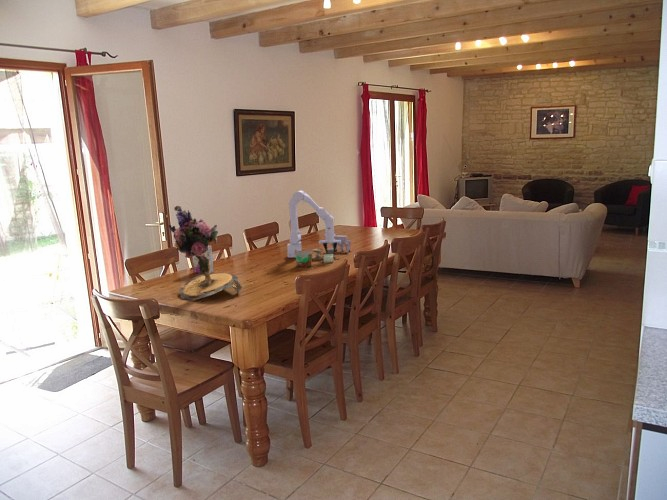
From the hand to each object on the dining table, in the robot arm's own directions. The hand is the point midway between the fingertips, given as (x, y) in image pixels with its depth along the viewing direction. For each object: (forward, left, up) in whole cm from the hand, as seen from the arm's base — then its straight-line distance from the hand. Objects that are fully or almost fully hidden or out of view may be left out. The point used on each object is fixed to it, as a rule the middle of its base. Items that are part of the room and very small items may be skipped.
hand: (330, 254), depth 355 cm
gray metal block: (0, 0, -1) cm, 1 cm away
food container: (-17, -27, -2) cm, 32 cm away
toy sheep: (+4, +17, -2) cm, 17 cm away
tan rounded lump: (-8, -6, -1) cm, 10 cm away
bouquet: (-61, -80, -2) cm, 101 cm away
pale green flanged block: (-1, -14, -1) cm, 14 cm away
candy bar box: (-76, -35, -2) cm, 84 cm away
